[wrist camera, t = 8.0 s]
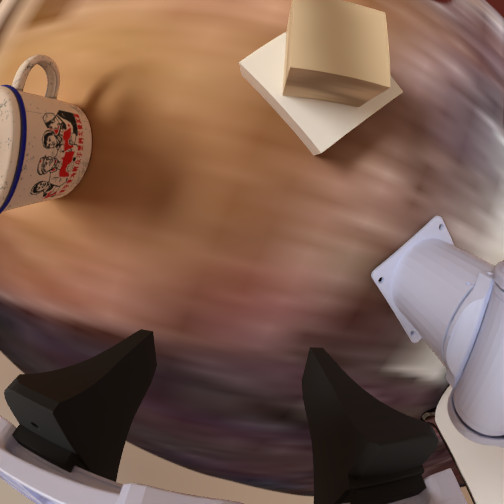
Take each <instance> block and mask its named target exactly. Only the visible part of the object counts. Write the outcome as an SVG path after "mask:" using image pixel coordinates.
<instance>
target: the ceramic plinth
mask: <svg viewBox="0 0 504 504" xmlns="http://www.w3.org/2000/svg"><path fill="white" fill-rule="evenodd" d="M285 46H286V32H285V33H283V34H282V35H280V36H278V37H277V38H275V39H273V40H272V41H270V42H269V43H267V44H265V45H264V46H262V47H261V48H259V49H258V50H256V51H255V52H253V53H252V54H250V55H249V56H247V57H246V58H245V59H243V60H242V61H240V62H239V65H240V70H241V75H242V76H243V77H244V78H245V79H246V80H247V81H248V82H249V83H250V84H251V85H252V86H253V87H254V88H255V89H256V90H257V91H258V92H259V93H260V94H261V95H262V96H263V98H264V99H265V100H266V101H267V102H268V103H269V104H270V105H271V106H272V107H273V108H274V109H275V111H276V112H277V113H278V114H279V115H280V116H281V117H282V118H283V119H284V121H285V122H286V123H287V124H288V125H289V126H290V127H291V129H292V130H293V131H294V132H295V133H296V135H297V136H298V137H299V138H300V139H301V140H302V142H303V143H304V144H305V145H306V146H307V148H308V149H309V150H310V151H311V153H312V154H313V155H317V154H320V153H322V152H324V151H325V150H326V149H327V148H329V147H330V146H331V145H333V144H334V143H335V142H337V141H338V140H339V139H340V138H342V137H343V136H344V135H346V134H347V133H348V132H350V131H351V130H352V129H354V128H355V127H356V126H358V125H359V124H360V123H362V122H363V121H364V120H366V119H367V118H368V117H370V116H371V115H372V114H374V113H375V112H376V111H378V110H379V109H380V108H382V107H383V106H385V105H386V104H387V103H389V102H390V101H391V100H393V99H394V98H396V97H397V96H398V95H400V94H401V93H403V91H402V89H401V88H400V87H399V86H398V84H397V83H396V82H395V80H394V79H393V78H392V77H391V75H390V86H391V88H389V89H387V90H386V91H384V92H382V93H381V94H379V95H377V96H376V97H374V98H373V99H371V100H369V101H368V102H366V103H365V104H363V105H361V106H360V107H354V106H350V105H345V104H339V103H334V102H328V101H322V100H316V99H309V98H302V97H294V96H285V95H282V92H283V77H284V62H285Z"/></svg>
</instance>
